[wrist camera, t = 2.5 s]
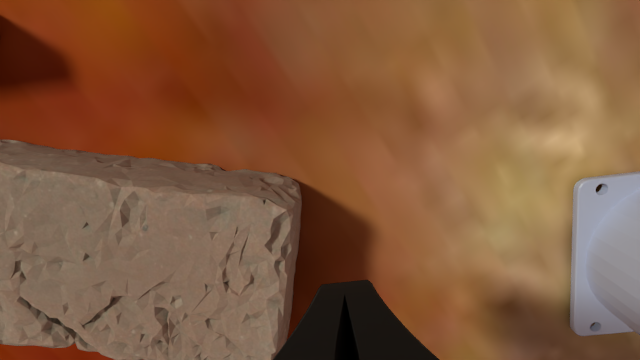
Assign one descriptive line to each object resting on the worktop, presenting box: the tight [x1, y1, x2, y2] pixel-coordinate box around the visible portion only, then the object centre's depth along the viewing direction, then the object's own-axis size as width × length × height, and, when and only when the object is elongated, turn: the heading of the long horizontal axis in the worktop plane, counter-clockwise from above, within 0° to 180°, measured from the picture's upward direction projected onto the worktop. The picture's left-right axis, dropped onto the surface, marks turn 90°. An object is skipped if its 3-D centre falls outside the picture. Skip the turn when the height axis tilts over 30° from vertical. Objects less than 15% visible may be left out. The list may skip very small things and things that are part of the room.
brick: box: [0, 140, 302, 360], centre depth 16 cm, size 17×8×5 cm, turn 83°
